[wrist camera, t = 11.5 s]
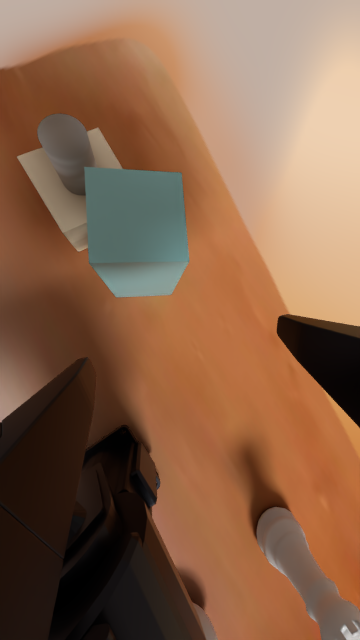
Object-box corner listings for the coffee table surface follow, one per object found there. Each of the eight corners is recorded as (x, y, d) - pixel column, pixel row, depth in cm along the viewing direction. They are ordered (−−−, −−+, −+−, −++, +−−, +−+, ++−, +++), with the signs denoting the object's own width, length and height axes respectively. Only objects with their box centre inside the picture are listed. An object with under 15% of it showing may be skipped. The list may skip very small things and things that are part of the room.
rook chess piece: (245, 529, 19) (312, 663, 11) (275, 493, 20) (357, 594, 12) (273, 562, 19) (359, 715, 12) (302, 524, 20) (400, 644, 12)
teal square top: (170, 294, 20) (189, 261, 11) (116, 297, 19) (88, 263, 10) (166, 243, 20) (181, 172, 12) (113, 244, 20) (84, 166, 11)
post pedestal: (78, 252, 19) (38, 203, 12) (40, 189, 19) (-22, 104, 12) (141, 221, 20) (138, 162, 13) (106, 163, 20) (85, 72, 13)
